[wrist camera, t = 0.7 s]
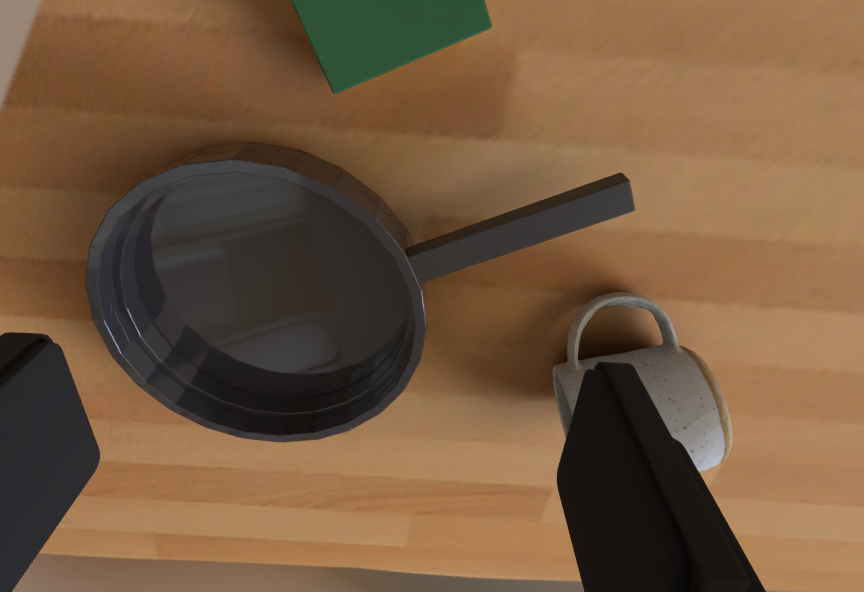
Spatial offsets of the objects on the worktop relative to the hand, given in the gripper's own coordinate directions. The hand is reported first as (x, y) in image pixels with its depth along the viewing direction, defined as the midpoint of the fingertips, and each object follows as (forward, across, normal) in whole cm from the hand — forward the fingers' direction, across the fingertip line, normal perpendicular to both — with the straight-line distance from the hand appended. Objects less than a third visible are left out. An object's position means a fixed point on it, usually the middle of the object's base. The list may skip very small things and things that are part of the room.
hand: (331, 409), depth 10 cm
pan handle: (+17, -6, +3) cm, 18 cm away
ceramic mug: (+19, -14, +12) cm, 27 cm away
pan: (+19, +6, +9) cm, 22 cm away
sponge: (+19, 0, -6) cm, 20 cm away
